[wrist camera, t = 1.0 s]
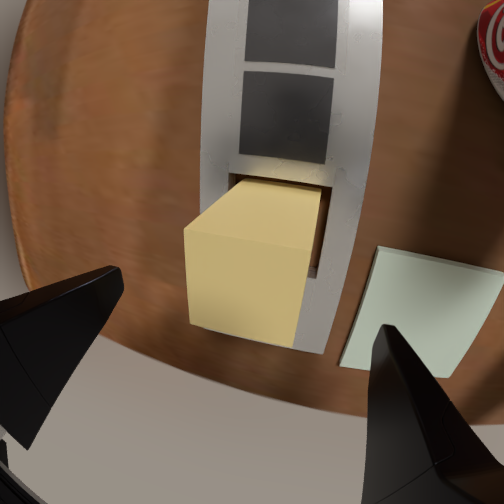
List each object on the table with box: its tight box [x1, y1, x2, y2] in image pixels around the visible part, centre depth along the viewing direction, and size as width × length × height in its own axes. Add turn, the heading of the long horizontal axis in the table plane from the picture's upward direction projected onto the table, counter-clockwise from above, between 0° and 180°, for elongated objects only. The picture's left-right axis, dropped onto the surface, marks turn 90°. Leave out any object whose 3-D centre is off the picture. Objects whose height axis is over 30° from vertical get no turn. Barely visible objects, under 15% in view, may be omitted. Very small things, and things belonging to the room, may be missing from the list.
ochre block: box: [184, 178, 322, 348], centre depth 13 cm, size 4×4×7 cm
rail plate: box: [200, 0, 383, 354], centre depth 14 cm, size 8×20×1 cm, turn 176°
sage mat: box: [340, 246, 504, 378], centre depth 16 cm, size 9×9×1 cm
